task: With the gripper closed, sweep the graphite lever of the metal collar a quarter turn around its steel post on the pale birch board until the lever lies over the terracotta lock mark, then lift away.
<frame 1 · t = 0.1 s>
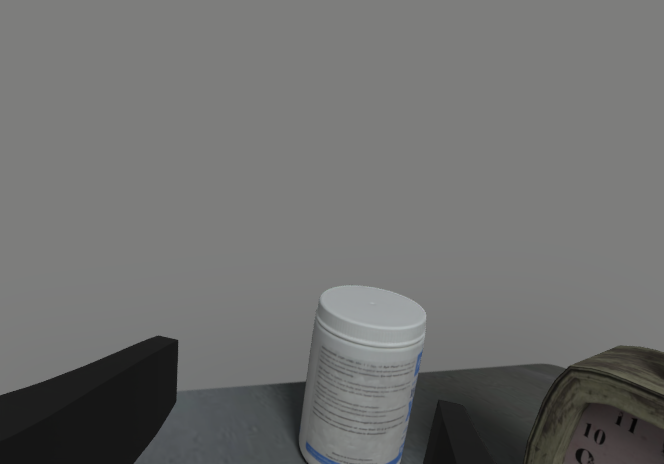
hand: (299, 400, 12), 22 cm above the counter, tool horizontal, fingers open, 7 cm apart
supplement tub: (347, 452, 42), on the counter
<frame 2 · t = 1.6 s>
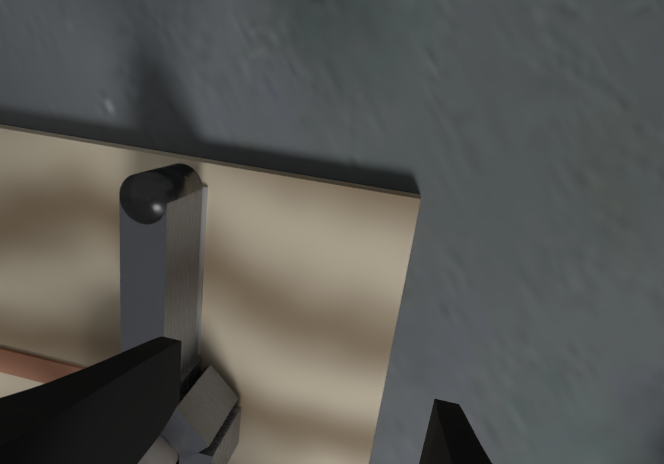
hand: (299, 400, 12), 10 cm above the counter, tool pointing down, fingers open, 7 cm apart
grey lever handle: (163, 345, 21), point 3 cm above the counter, hinge at 0.0°
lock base: (192, 392, 26), on the counter
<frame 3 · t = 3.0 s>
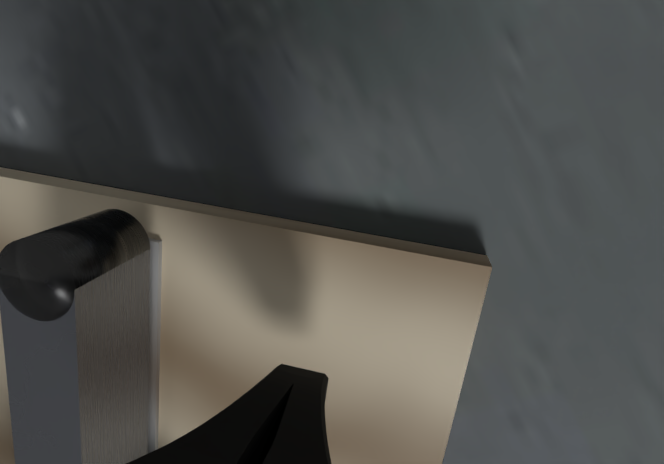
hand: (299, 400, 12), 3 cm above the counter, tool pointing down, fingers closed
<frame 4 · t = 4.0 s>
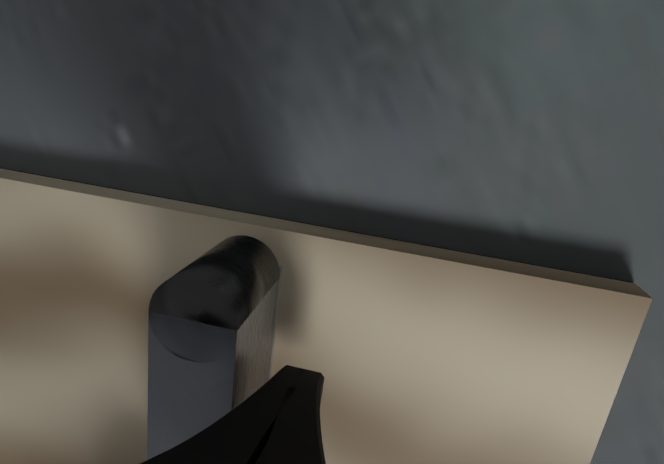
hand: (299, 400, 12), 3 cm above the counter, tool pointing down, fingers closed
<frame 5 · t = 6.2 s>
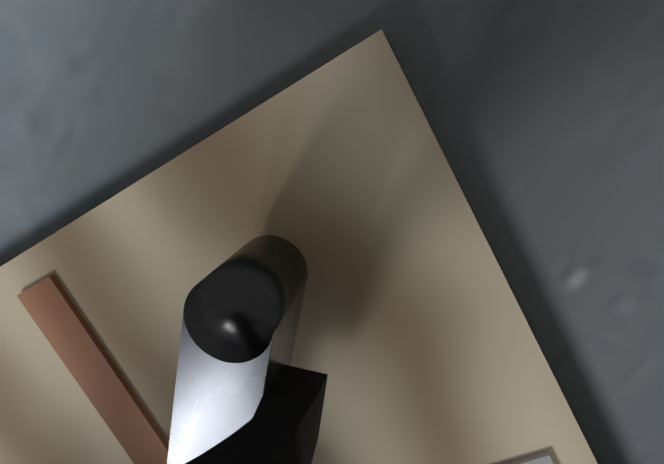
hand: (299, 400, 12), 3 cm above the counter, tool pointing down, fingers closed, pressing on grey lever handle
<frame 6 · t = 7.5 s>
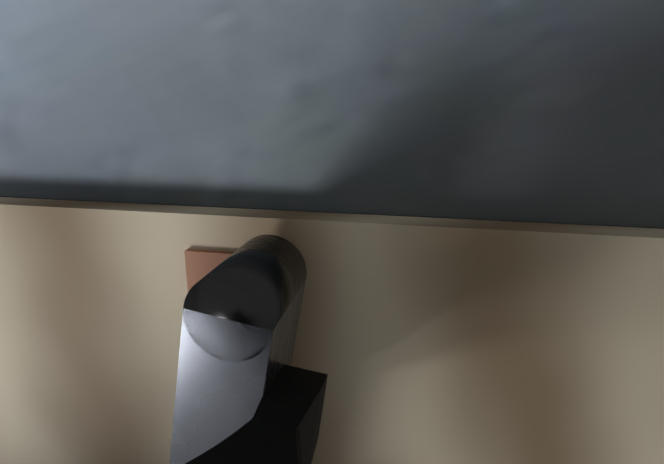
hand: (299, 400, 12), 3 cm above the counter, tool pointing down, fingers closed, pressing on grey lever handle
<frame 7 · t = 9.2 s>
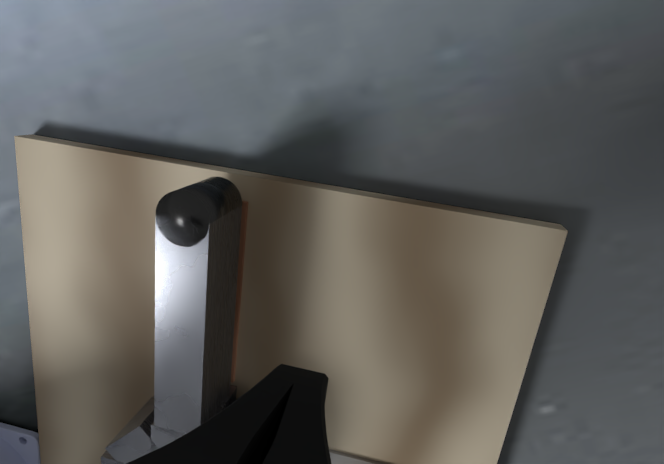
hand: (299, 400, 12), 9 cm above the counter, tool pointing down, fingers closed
grey lever handle: (198, 375, 20), point 3 cm above the counter, hinge at 90.5°
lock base: (223, 419, 24), on the counter
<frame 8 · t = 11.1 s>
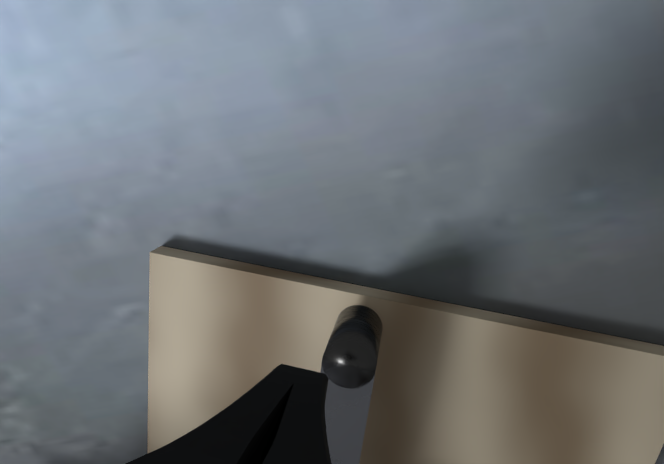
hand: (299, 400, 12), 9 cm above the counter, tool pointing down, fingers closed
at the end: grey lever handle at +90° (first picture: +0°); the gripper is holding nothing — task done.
